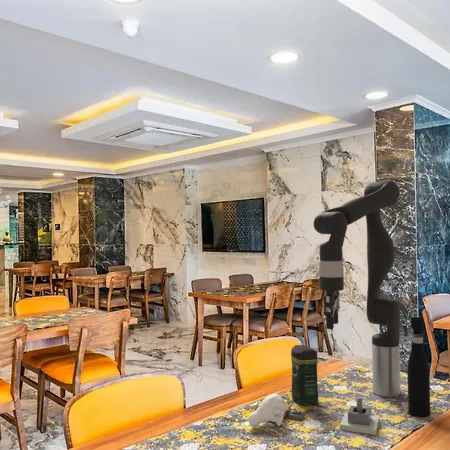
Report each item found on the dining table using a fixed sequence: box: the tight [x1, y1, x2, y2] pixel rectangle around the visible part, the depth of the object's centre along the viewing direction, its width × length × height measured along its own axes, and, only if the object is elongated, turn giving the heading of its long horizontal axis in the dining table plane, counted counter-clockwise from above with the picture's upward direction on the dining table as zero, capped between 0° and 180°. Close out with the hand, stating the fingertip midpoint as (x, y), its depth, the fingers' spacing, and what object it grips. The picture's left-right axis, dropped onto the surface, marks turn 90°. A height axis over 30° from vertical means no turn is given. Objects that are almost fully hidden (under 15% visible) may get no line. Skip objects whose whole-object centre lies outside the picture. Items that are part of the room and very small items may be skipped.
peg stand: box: [339, 397, 380, 436], centre depth 138 cm, size 10×10×8 cm
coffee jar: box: [290, 344, 319, 406], centre depth 159 cm, size 10×8×19 cm
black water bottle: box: [406, 316, 431, 419], centre depth 146 cm, size 6×6×30 cm
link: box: [347, 405, 372, 426], centre depth 138 cm, size 6×6×3 cm
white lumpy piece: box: [247, 393, 286, 430], centre depth 139 cm, size 6×8×12 cm
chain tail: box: [283, 404, 306, 421], centre depth 145 cm, size 5×8×2 cm, turn 66°
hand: (332, 326), depth 147 cm, fingers open, 8 cm apart
